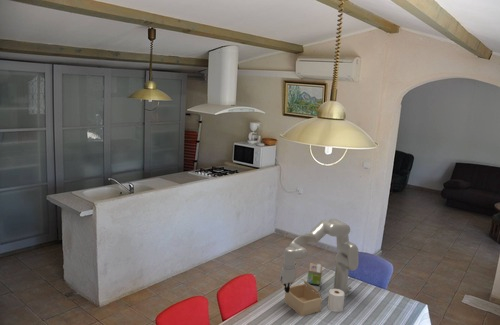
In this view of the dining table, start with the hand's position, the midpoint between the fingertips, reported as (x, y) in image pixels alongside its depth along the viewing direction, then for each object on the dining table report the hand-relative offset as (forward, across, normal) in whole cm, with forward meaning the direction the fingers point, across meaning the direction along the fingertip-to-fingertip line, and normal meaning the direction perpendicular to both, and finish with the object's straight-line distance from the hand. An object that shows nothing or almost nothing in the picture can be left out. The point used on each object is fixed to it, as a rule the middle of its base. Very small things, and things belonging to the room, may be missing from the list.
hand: (286, 291), depth 266 cm
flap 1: (+2, -3, 0) cm, 4 cm away
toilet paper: (+14, -34, +11) cm, 38 cm away
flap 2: (+1, -20, 0) cm, 21 cm away
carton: (+14, -14, 0) cm, 20 cm away
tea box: (+14, -40, -21) cm, 47 cm away
